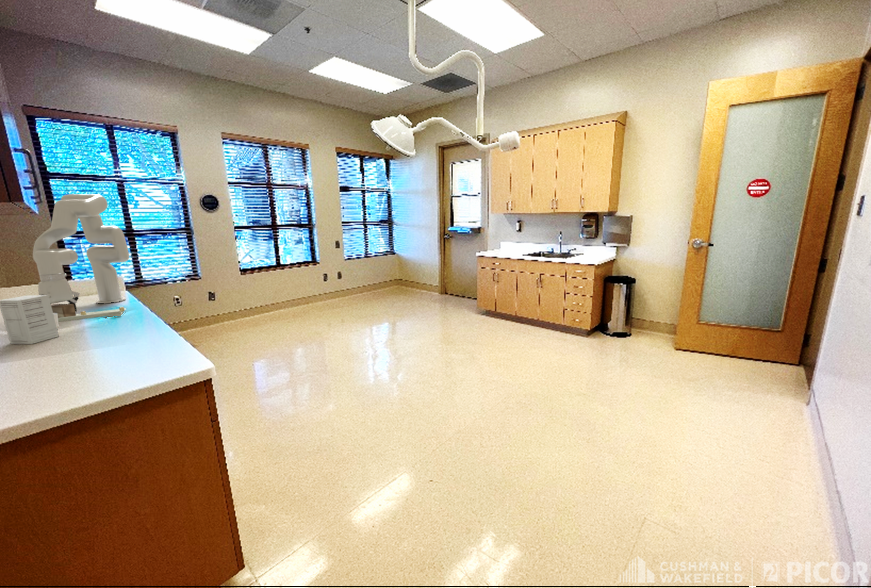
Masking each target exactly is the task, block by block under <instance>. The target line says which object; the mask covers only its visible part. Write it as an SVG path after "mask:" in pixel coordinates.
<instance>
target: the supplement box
mask: <svg viewBox="0 0 871 588" xmlns="http://www.w3.org/2000/svg"><path fill="white" fill-rule="evenodd" d="M0 314H1V315H2V319H3V323H4V326H5V330H6V333H7V337H8V340H9V344H11V345H14V344H15V345H32V344H36V343H39V342H40V343H41V342H43V341H48V340H51V339H55V338H57V337H58V336H60V334H59V330H57V329H58V327H57V326H56V323H55V319H54V315H53V311H52V307H51V304H50V300H49V296H48V295H39V294H38V295H34V294H33V295H31V294H29V295H21V296H16V297H9V298H5V299H0Z"/></svg>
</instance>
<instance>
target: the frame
mask: <svg viewBox="0 0 871 588" xmlns="http://www.w3.org/2000/svg"><path fill="white" fill-rule="evenodd" d="M51 307H52V311H53V313H57V315H58V318H60V317H69V316H76V314H77V312H75V308H74V304H68V303H53V304H51Z"/></svg>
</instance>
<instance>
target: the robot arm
mask: <svg viewBox="0 0 871 588" xmlns="http://www.w3.org/2000/svg"><path fill="white" fill-rule="evenodd" d="M53 207H54V208H53V211H52V218H51V225H50V227H49V228H48V229H47V230H45V231H44V232H42V233H41V234H40V235H39V236H38V237H37V238H36V239H35V241H34V243H33V249H32V259H33V262H35V263H36V268H37V271H38V275H39V280H40V281H39V282H38V283H37V284H38V285H37V287H38V295H48V296H49V300H50V304H60V303H63V302H67V304H74V308H75V313H77V311H78V309H77V303H78V300H79V299H80V298H79V297H80V292H77V291H73V290H72V288H71V285H70V282H68V279H66V277H67V275H68V274H67V273H65V272H64V270H63V266H66V265H72V264H75V263H76V262H77V261H78V259H79V255H78V253H77V252H76V251H75V250H73V249H71V248H51V246H52V245H53V244H55V243H56V242H58V241H60V240H63V239H65V238H68V237H71V236H72V235H73V236H74V235H75V234H76V233H77V231H78V223H79V221H80V224H81V228H82V231H83V233H84V237H85V240H86V241H87V242H88V243H90V244H99V245H94V246H91V247H88V249H87V250H86V257H87V259H88V261H89V264H90V265H91V269H92V273H93V277H94V282H95V283H94V284H95V287H96V291H97V297H98V299H97V300H96V301H95V303H96V304H98V303H104V304H112V303H111V302H114V303H119V301H120V302H123V301H126V299H127V298H126V297H125V296H122V293H121V288H120V283H119V282H120V281H119V279H118V273H117V269H116V268H115V267H114V266H113V265H112V263H113V264H114V263H125V262H128V261H129V259H130V253H129V249H128V245H127V242H126V241H127V240H126V237H125V233H124V231H123V230H122V229H121V228H120V227H118V226H116V225H104V222H103V219H102V217H101V215H100V214H101V213H103V212H105V211H106V210H107V208H108V201H107V199H106V197H104V196H103V195H101V194H95V193H94V194H93V193H91V194H89V193H87V194H83V193H79V194H78V193H75V194H74V193H73V194H72V193H71V194H64V195H63V196H61V197H60V200H57V201H56V202H55V203H54V206H53ZM100 244H105V245H100ZM106 244H112V245H106Z"/></svg>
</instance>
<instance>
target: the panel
mask: <svg viewBox="0 0 871 588" xmlns="http://www.w3.org/2000/svg"><path fill="white" fill-rule="evenodd" d="M126 309H127V308H125V307H124V306H120V307H118V309H117V308H116V309H109V310H99V311H89V312H86V310H82V311H79V312H80V313H76V316H69V317H60V318H58V323H59V322H66V321H67V322H68V321H74V320H75V321H76V320H83V319H91V318H92V319H93V318H105V319H108V318H107V317H113V316H121V315H122V314H123V313H124V312H126ZM124 314H125V313H124ZM124 314H123V315H124ZM123 315H122V316H123Z"/></svg>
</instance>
